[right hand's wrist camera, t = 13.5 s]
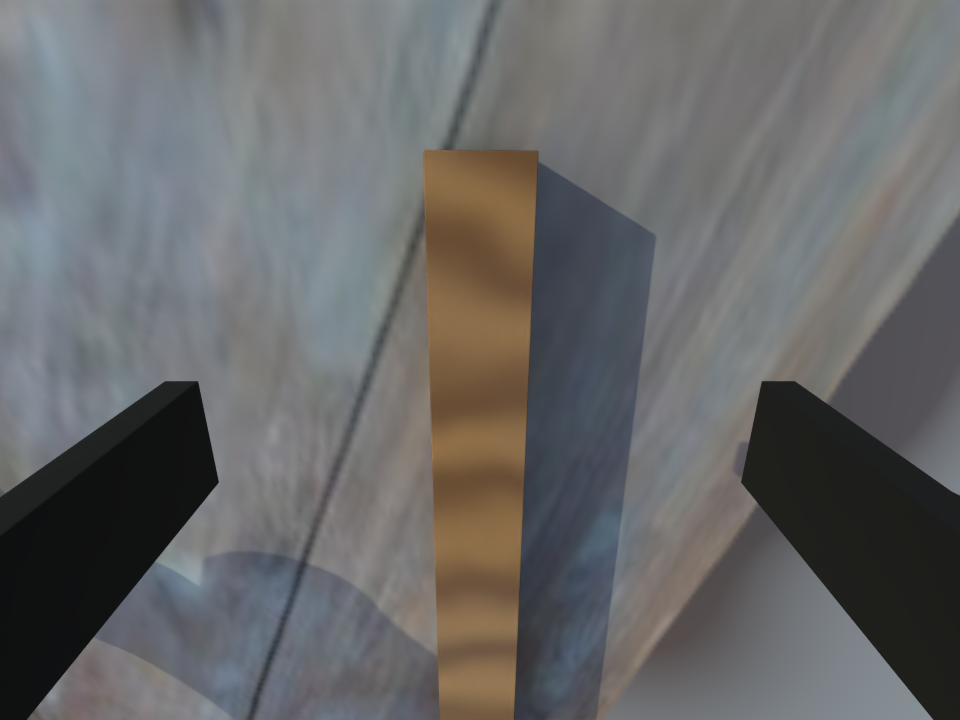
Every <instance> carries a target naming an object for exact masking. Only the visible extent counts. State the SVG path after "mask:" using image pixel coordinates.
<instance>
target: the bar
mask: <svg viewBox="0 0 960 720" xmlns="http://www.w3.org/2000/svg"><path fill="white" fill-rule="evenodd" d="M423 164H424V198H425V232H426V266H427V300H428V335H429V369H430V403H431V437H432V471H433V505H434V539H435V573H436V608H437V642H438V676H439V710H440V720H514V708H515V685H516V662H517V639H518V615H519V592H520V569H521V545H522V522H523V499H524V475H525V452H526V429H527V405H528V382H529V359H530V335H531V312H532V289H533V265H534V242H535V219H536V195H537V172H538V151H503V150H423Z"/></svg>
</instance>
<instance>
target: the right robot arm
mask: <svg viewBox="0 0 960 720" xmlns="http://www.w3.org/2000/svg"><path fill="white" fill-rule="evenodd" d="M218 483H219V481H218V476H217V471H216V466H215V461H214V456H213V452H212V447H211V442H210V437H209V432H208V427H207V422H206V418H205V413H204V408H203V403H202V398H201V393H200V388H199V384H198V381H165V382H164V383H162V384H161V385H159V386H158V387H156V388H155V389H154V390H152V391H151V392H149V393H148V394H146V395H145V396H144V397H142V398H141V399H139V400H138V401H137V402H135V403H134V404H132V405H131V406H129V407H128V408H127V409H125V410H124V411H122V412H121V413H119V414H118V415H117V416H115V417H114V418H112V419H111V420H109V421H108V422H107V423H105V424H104V425H102V426H101V427H100V428H98V429H97V430H95V431H94V432H92V433H91V434H90V435H88V436H87V437H85V438H84V439H82V440H81V441H80V442H78V443H77V444H75V445H74V446H73V447H71V448H70V449H68V450H67V451H65V452H64V453H63V454H61V455H60V456H58V457H57V458H55V459H54V460H53V461H51V462H50V463H48V464H47V465H46V466H44V467H43V468H41V469H40V470H38V471H37V472H36V473H34V474H33V475H31V476H30V477H28V478H27V479H26V480H24V481H23V482H21V483H20V484H18V485H17V486H16V487H14V488H13V489H11V490H10V491H9V492H7V493H6V494H4V495H3V496H1V497H0V720H27V719H28V717H29V716H30V715H31V714H32V712H33V711H34V710H35V709H36V708H37V706H38V705H39V704H40V703H41V701H42V700H43V699H44V698H45V696H46V695H47V694H48V693H49V691H50V690H51V689H52V688H53V687H54V685H55V684H56V683H57V682H58V680H59V679H60V678H61V677H62V675H63V674H64V673H65V672H66V670H67V669H68V668H69V667H70V666H71V664H72V663H73V662H74V661H75V659H76V658H77V657H78V656H79V654H80V653H81V652H82V651H83V649H84V648H85V647H86V646H87V645H88V643H89V642H90V641H91V640H92V638H93V637H94V636H95V635H96V633H97V632H98V631H99V630H100V628H101V627H102V626H103V625H104V624H105V622H106V621H107V620H108V619H109V617H110V616H111V615H112V614H113V612H114V611H115V610H116V609H117V607H118V606H119V605H120V604H121V603H122V601H123V600H124V599H125V598H126V596H127V595H128V594H129V593H130V591H131V590H132V589H133V588H134V587H135V585H136V584H137V583H138V582H139V580H140V579H141V578H142V577H143V575H144V574H145V573H146V572H147V570H148V569H149V568H150V567H151V566H152V564H153V563H154V562H155V561H156V559H157V558H158V557H159V556H160V554H161V553H162V552H163V551H164V549H165V548H166V547H167V546H168V545H169V543H170V542H171V541H172V540H173V538H174V537H175V536H176V535H177V533H178V532H179V531H180V530H181V528H182V527H183V526H184V525H185V524H186V522H187V521H188V520H189V519H190V517H191V516H192V515H193V514H194V512H195V511H196V510H197V509H198V507H199V506H200V505H201V504H202V503H203V501H204V500H205V499H206V498H207V496H208V495H209V494H210V493H211V491H212V490H213V489H214V488H215V486H216V485H217V484H218ZM741 483H742V484H743V485H744V486H745V488H746V489H747V490H748V491H749V493H750V494H751V495H752V496H753V498H754V499H755V500H756V501H757V503H758V504H759V505H760V506H761V507H762V509H763V510H764V511H765V512H766V514H767V515H768V516H769V517H770V519H771V520H772V521H773V522H774V523H775V525H776V526H777V527H778V528H779V530H780V531H781V532H782V533H783V535H784V536H785V537H786V538H787V540H788V541H789V542H790V543H791V544H792V546H793V547H794V548H795V549H796V551H797V552H798V553H799V554H800V556H801V557H802V558H803V559H804V561H805V562H806V563H807V564H808V565H809V567H810V568H811V569H812V570H813V572H814V573H815V574H816V575H817V577H818V578H819V579H820V580H821V582H822V583H823V584H824V585H825V586H826V588H827V589H828V590H829V591H830V593H831V594H832V595H833V596H834V598H835V599H836V600H837V601H838V603H839V604H840V605H841V606H842V607H843V609H844V610H845V611H846V612H847V614H848V615H849V616H850V617H851V619H852V620H853V621H854V622H855V624H856V625H857V626H858V627H859V628H860V630H861V631H862V632H863V633H864V635H865V636H866V637H867V638H868V640H869V641H870V642H871V643H872V645H873V646H874V647H875V648H876V649H877V651H878V652H879V653H880V654H881V656H882V657H883V658H884V659H885V661H886V662H887V663H888V664H889V665H890V667H891V668H892V669H893V670H894V672H895V673H896V674H897V675H898V677H899V678H900V679H901V680H902V682H903V683H904V684H905V685H906V686H907V688H908V689H909V690H910V691H911V693H912V694H913V695H914V696H915V698H916V699H917V700H918V701H919V703H920V704H921V705H922V706H923V707H924V709H925V710H926V711H927V712H928V714H929V715H930V716H931V717H932V719H933V720H960V495H957V494H955V493H953V492H951V491H950V490H949V489H947V488H946V487H944V486H943V485H941V484H940V483H939V482H937V481H936V480H934V479H933V478H932V477H930V476H929V475H927V474H926V473H924V472H923V471H922V470H920V469H919V468H917V467H916V466H914V465H913V464H912V463H910V462H909V461H907V460H906V459H905V458H903V457H902V456H900V455H899V454H897V453H896V452H895V451H893V450H892V449H890V448H889V447H887V446H886V445H885V444H883V443H882V442H880V441H879V440H878V439H876V438H875V437H873V436H872V435H870V434H869V433H868V432H866V431H865V430H863V429H862V428H860V427H859V426H858V425H856V424H855V423H853V422H852V421H850V420H849V419H848V418H846V417H845V416H843V415H842V414H841V413H839V412H838V411H836V410H835V409H833V408H832V407H831V406H829V405H828V404H826V403H825V402H823V401H822V400H821V399H819V398H818V397H816V396H815V395H814V394H812V393H811V392H809V391H808V390H806V389H805V388H804V387H802V386H801V385H799V384H798V383H796V382H795V381H762V384H761V388H760V393H759V398H758V403H757V408H756V413H755V418H754V422H753V427H752V432H751V437H750V442H749V447H748V452H747V456H746V461H745V466H744V471H743V476H742V481H741Z"/></svg>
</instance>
